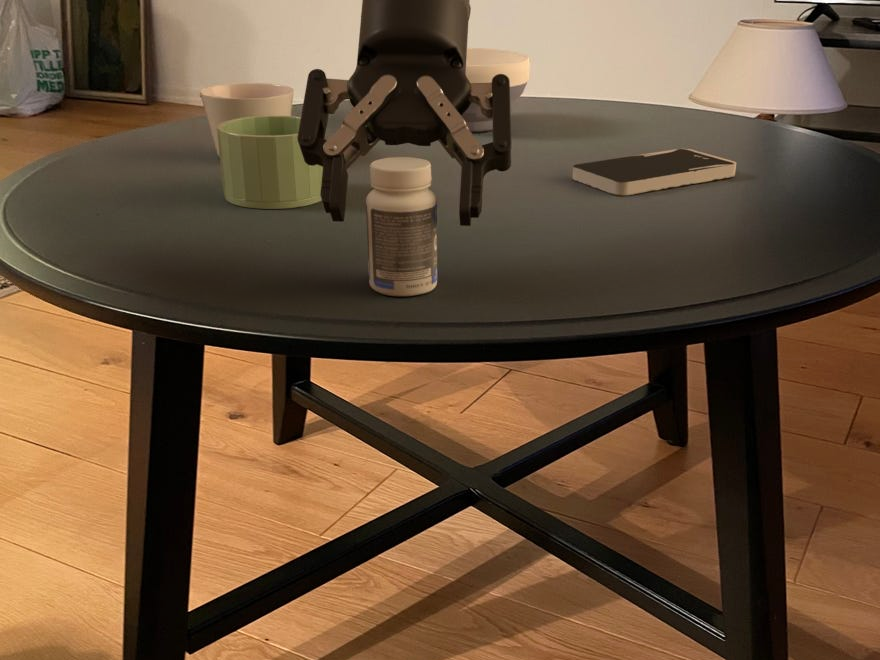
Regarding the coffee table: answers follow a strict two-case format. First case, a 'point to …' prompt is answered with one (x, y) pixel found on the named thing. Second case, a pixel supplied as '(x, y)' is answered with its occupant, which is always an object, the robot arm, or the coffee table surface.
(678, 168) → the smartphone
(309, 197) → the cup
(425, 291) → the pill bottle
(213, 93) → the beige tapered pot
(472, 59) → the bowl
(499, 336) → the coffee table surface
